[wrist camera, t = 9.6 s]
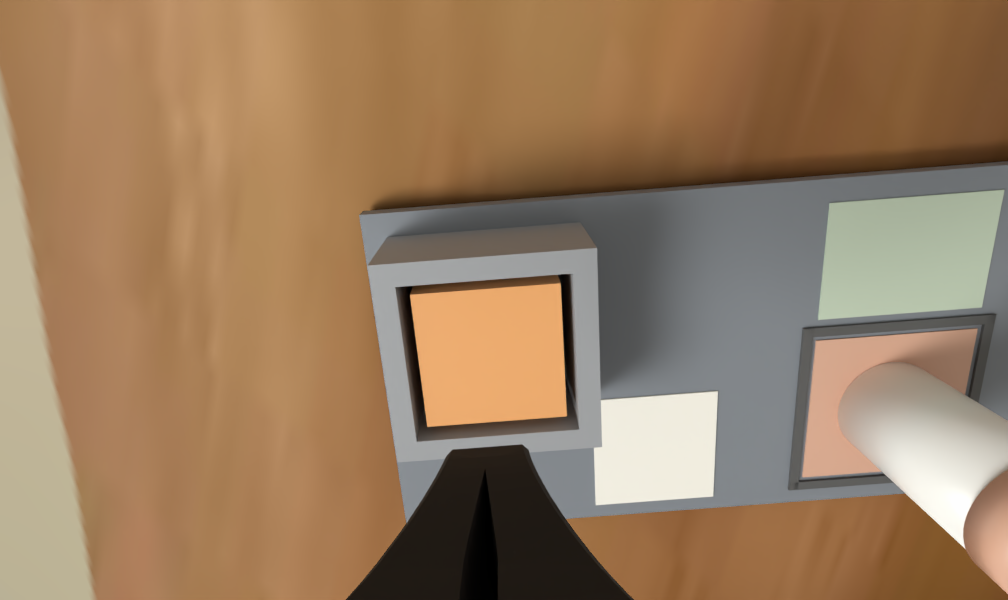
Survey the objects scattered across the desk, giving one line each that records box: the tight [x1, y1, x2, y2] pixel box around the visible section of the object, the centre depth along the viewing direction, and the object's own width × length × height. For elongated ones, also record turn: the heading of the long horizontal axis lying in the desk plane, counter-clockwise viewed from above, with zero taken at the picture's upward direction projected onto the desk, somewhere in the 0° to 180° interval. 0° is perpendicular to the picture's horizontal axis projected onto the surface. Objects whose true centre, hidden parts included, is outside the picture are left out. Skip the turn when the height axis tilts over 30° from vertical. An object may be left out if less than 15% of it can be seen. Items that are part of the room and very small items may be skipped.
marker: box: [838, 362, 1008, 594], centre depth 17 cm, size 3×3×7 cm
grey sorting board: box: [359, 161, 1008, 523], centre depth 18 cm, size 11×21×4 cm, turn 94°
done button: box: [410, 275, 567, 427], centre depth 17 cm, size 4×4×2 cm
